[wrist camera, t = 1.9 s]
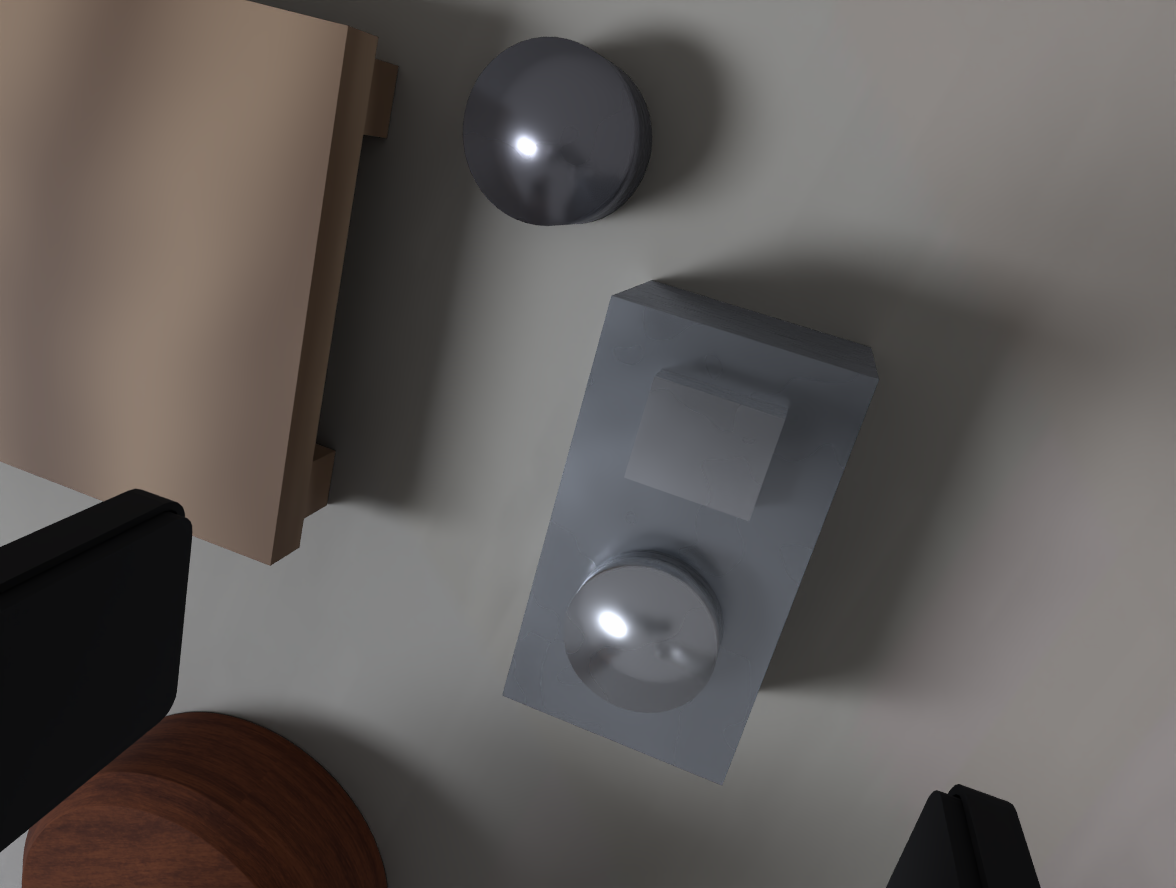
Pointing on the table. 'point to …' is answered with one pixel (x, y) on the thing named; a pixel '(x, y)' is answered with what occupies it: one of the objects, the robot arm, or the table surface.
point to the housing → (686, 521)
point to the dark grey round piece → (556, 133)
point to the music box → (205, 817)
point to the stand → (178, 250)
